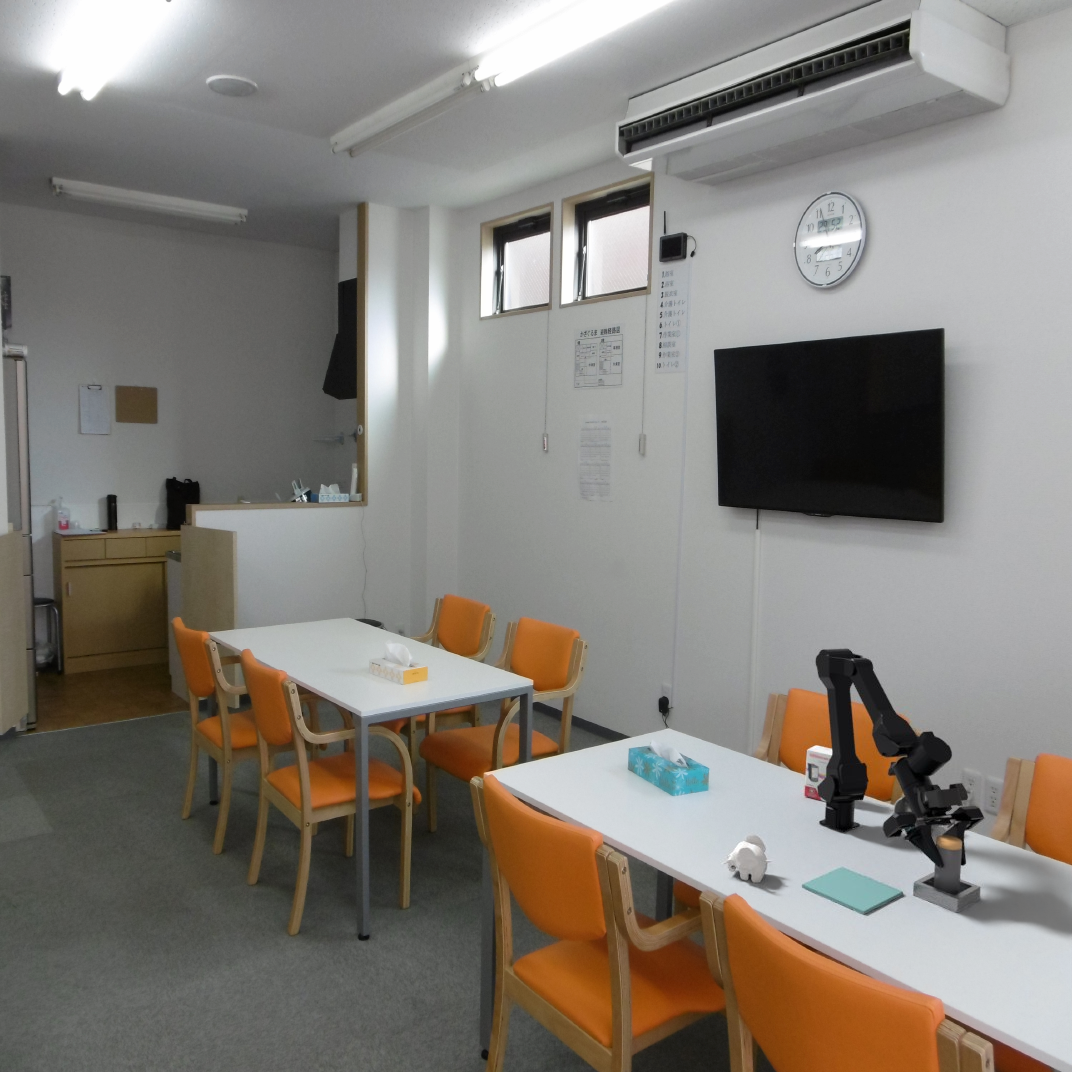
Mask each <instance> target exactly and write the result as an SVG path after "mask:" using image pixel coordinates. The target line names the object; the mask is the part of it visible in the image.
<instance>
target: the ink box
mask: <svg viewBox="0 0 1072 1072" xmlns="http://www.w3.org/2000/svg"><path fill="white" fill-rule="evenodd" d="M831 756H832V748H829V747H826V746H822V745H821V746H820V745H814V746H812V747H809V748H808V749H807V750H806V761H805V763H806V765H805V779H804V793H803V794H804V796H805V797H806V798H811V799H815V800H820V801H822V802H826V801H825V800H824V799H822V798H821V797H819V796H818V789H817V786H818V785H819V784H820V783H821V782H822V781H823V780H824V779H825V778H826V766H827V764H828V762H829V760H830V758H831Z"/></svg>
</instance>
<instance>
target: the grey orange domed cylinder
mask: <svg viewBox="0 0 1072 1072" xmlns="http://www.w3.org/2000/svg"><path fill="white" fill-rule="evenodd" d="M935 844H936V847H937V849H938V851H939V853H940V856H941V858H942V861H943V864H944V867H942V868H939V867H938V866H937V865H936V864H935V863H934V871H933V872H934V888H936V889H939V890H942V891H944V892H947V893H949V894H952V895H954V896H955V895H957V894H959V893H960V879H961V874H962V873H961V872H962V870H961V869H962V866H961V855H962V841H961V840H960V839H959V838H956V837H953V836H949V835H942V834H941V835H937V836H936V838H935Z"/></svg>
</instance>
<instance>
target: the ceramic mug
mask: <svg viewBox="0 0 1072 1072" xmlns="http://www.w3.org/2000/svg"><path fill="white" fill-rule="evenodd" d="M902 798H903V797H900V798H899V799H897V800H896V801H895V803H894V806H893V812H892V815H893V814H894V813H897V812H909V811H910V812H912V811H911V809H910V807H909V805H908V804H904V803H903V801H902ZM939 821H940V820H939ZM931 828H932V830H934V829H937V828H939V826H933V827H931ZM902 832H905V833H906V831H905V829H902Z"/></svg>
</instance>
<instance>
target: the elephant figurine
mask: <svg viewBox="0 0 1072 1072" xmlns="http://www.w3.org/2000/svg"><path fill="white" fill-rule="evenodd" d="M765 853H766V845H765V843H764V842H763V840H762V839H761V837H759V836H758V835H756V834H751V835H747V837H746V838H745V839H744V841H740V842H738V844H737V846H736V847H735V848H734V849H733V851H732V852H731V853H730V854H728V855H726V856H725V857H724V858H728V859H727V860H726V861H724V862H721V865H726V866H727V869H728V871H729V872H735V871H736V869H737V870H738V872H739V875H740V879H741V880H742V881H748V880H749V877H750V876H749V875H751V882H753V883H754V884H755V883H760V882H761V881H762V879H763V878H764V876H765V873H766V872H767V870H768V863H772V862H773V860H770V859H768V858H767V856H766V854H765Z"/></svg>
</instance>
